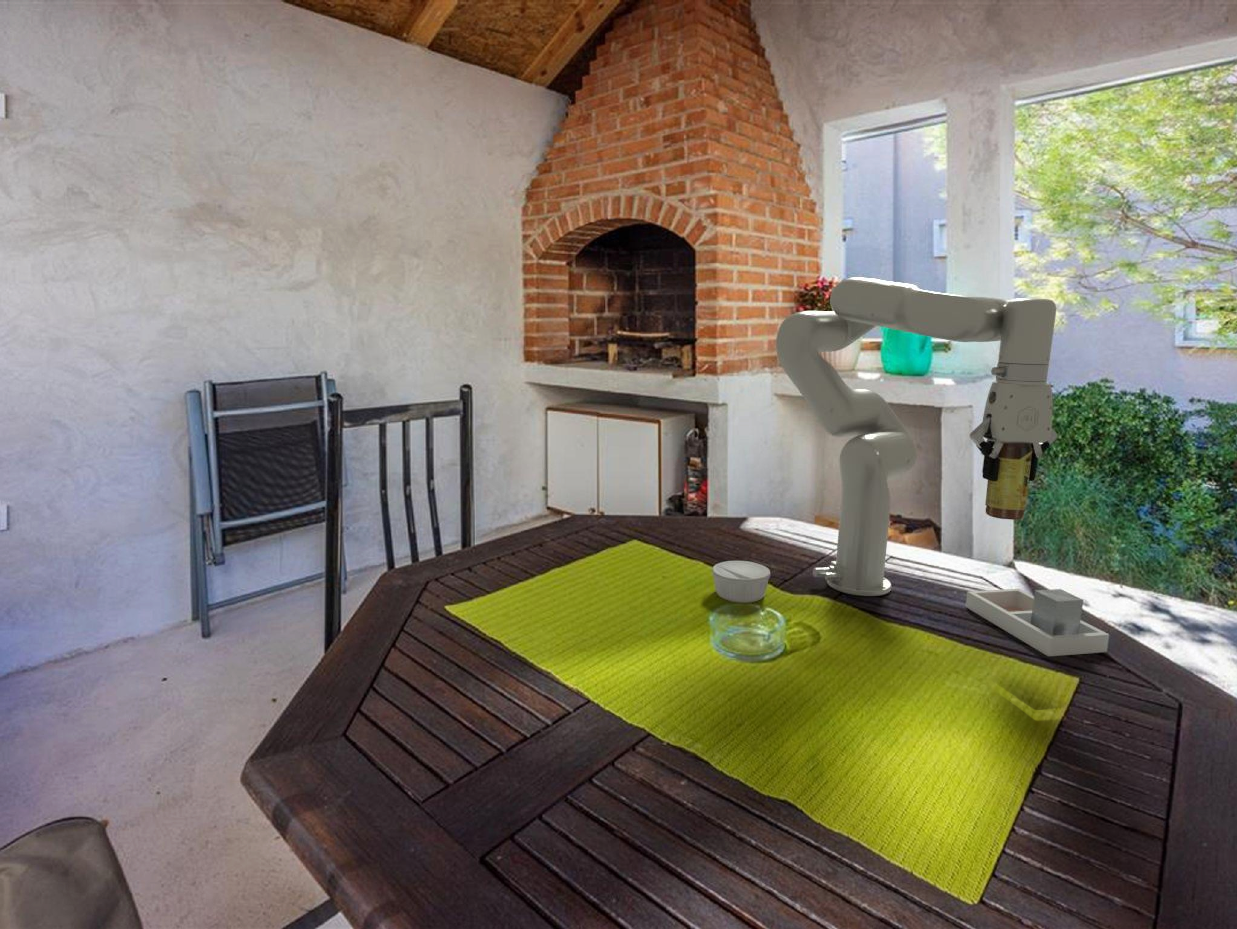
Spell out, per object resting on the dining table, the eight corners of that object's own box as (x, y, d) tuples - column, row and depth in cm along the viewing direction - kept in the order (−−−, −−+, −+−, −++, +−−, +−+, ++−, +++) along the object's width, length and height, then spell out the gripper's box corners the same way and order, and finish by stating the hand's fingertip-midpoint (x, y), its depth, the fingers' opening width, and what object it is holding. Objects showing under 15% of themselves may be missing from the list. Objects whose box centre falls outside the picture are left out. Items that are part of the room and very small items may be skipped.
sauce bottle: (1028, 522, 125) (1044, 404, 121) (988, 519, 126) (1002, 403, 122) (1018, 512, 131) (1032, 400, 127) (979, 510, 133) (993, 399, 129)
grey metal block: (1050, 646, 124) (1057, 601, 122) (1029, 634, 128) (1035, 590, 127) (1076, 644, 125) (1083, 599, 123) (1054, 632, 129) (1060, 589, 128)
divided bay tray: (1105, 657, 122) (1109, 634, 122) (1047, 661, 120) (1050, 638, 120) (1016, 608, 143) (1018, 588, 142) (964, 611, 141) (967, 591, 140)
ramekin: (704, 599, 144) (705, 573, 143) (719, 581, 154) (720, 557, 153) (762, 609, 140) (763, 582, 139) (773, 589, 150) (775, 564, 149)
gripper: (988, 375, 119) (975, 485, 123) (1085, 376, 122) (1069, 483, 125) (960, 372, 126) (949, 475, 130) (1052, 373, 129) (1038, 474, 132)
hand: (1008, 478), depth 128 cm, fingers closed on sauce bottle, 6 cm apart
